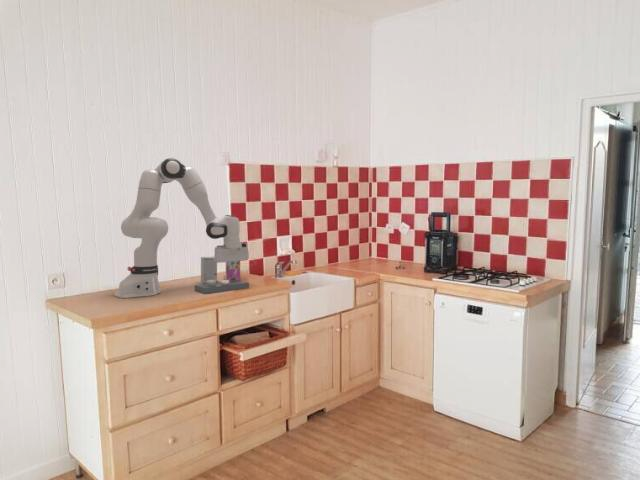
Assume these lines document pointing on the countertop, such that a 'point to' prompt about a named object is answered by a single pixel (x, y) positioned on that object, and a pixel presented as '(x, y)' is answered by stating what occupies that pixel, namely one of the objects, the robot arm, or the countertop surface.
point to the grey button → (211, 282)
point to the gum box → (232, 272)
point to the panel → (221, 286)
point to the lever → (235, 271)
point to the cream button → (224, 282)
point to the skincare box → (208, 269)
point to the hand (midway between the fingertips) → (231, 269)
